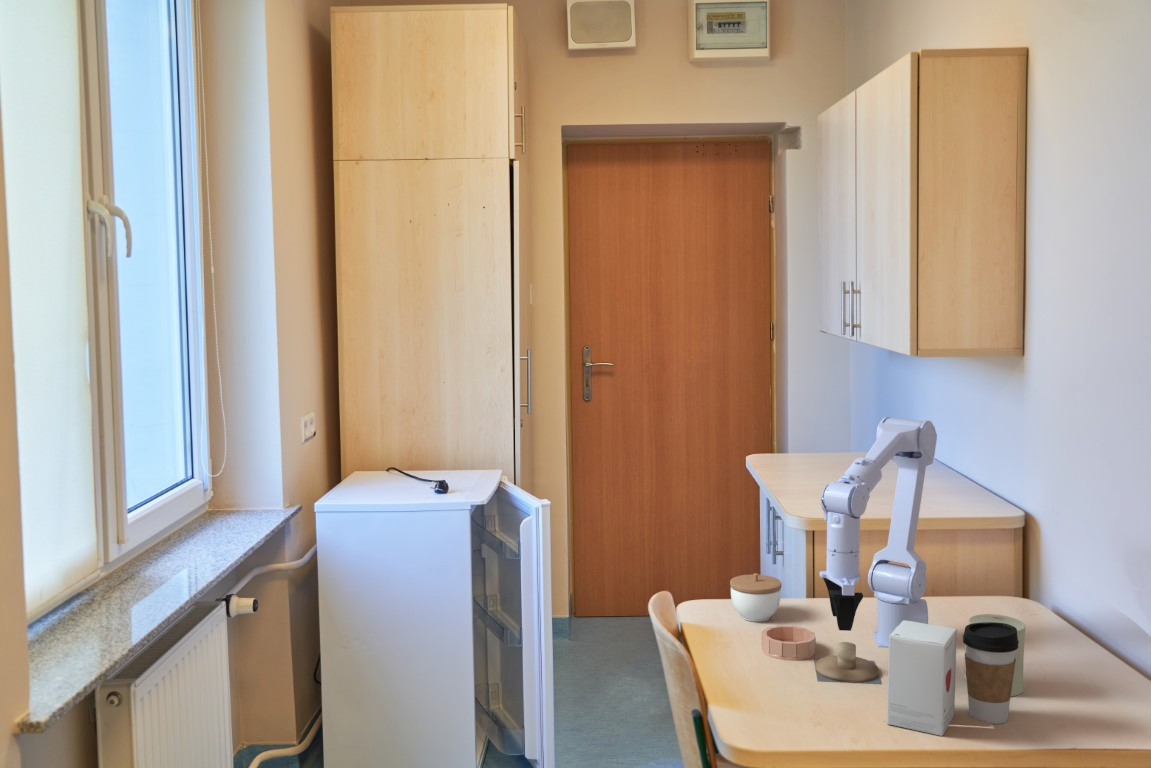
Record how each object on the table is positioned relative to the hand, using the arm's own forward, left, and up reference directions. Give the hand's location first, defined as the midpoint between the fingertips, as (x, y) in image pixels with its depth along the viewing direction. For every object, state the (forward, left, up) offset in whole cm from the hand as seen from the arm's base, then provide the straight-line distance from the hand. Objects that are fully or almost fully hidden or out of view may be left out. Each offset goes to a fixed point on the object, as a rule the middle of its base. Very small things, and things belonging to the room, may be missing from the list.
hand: (841, 622), depth 187 cm
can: (-26, +2, -10) cm, 28 cm away
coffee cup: (-22, +15, -10) cm, 29 cm away
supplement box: (-11, +18, -10) cm, 24 cm away
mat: (-1, -1, -10) cm, 10 cm away
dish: (+9, -10, -10) cm, 16 cm away
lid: (-1, -1, -9) cm, 9 cm away
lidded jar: (+15, -30, -10) cm, 34 cm away
